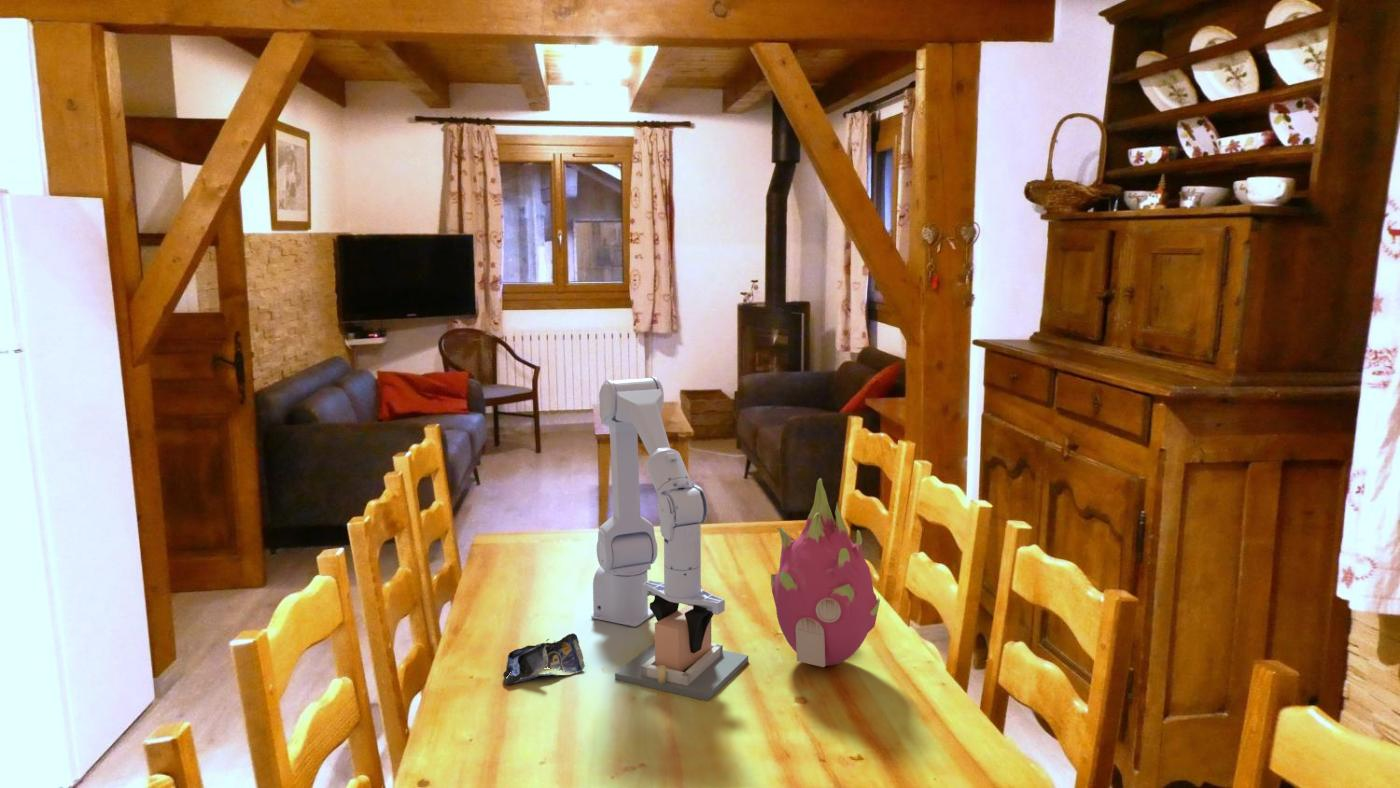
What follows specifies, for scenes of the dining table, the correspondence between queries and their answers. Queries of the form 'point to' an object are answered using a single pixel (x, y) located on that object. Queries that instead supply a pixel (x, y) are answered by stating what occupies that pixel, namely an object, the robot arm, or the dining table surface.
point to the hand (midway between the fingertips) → (682, 646)
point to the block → (677, 642)
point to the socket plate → (685, 672)
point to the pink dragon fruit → (824, 589)
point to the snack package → (544, 659)
